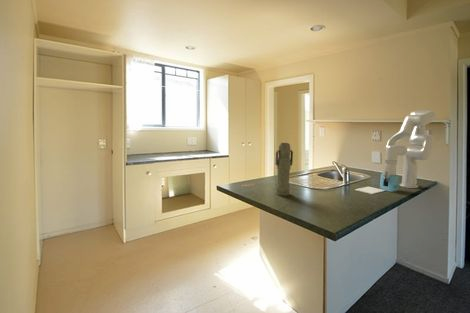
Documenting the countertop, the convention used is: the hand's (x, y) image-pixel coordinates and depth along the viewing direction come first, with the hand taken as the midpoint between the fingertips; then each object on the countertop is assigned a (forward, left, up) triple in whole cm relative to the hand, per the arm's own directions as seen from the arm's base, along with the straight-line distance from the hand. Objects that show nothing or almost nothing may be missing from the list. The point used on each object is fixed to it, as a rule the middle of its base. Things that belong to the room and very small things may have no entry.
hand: (388, 185), depth 201 cm
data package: (0, 0, -4) cm, 4 cm away
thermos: (+78, -31, -4) cm, 84 cm away
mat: (+14, -6, -4) cm, 16 cm away
